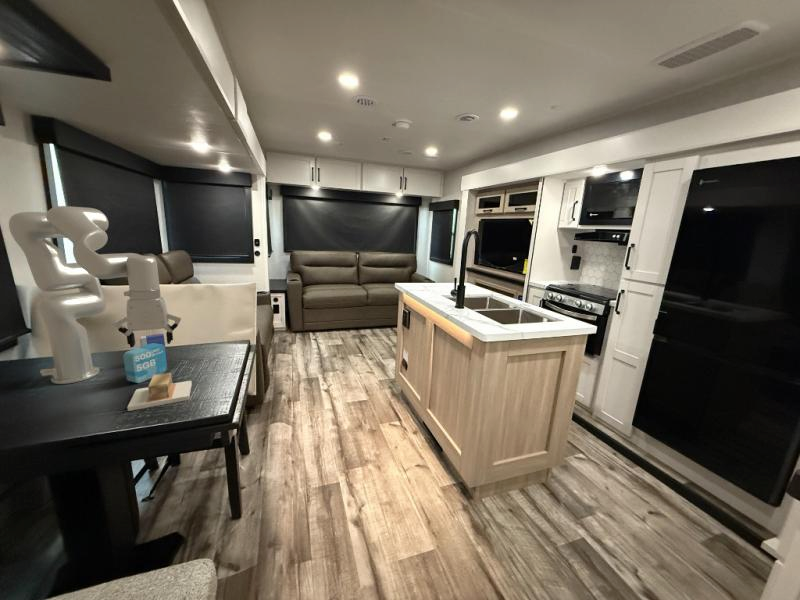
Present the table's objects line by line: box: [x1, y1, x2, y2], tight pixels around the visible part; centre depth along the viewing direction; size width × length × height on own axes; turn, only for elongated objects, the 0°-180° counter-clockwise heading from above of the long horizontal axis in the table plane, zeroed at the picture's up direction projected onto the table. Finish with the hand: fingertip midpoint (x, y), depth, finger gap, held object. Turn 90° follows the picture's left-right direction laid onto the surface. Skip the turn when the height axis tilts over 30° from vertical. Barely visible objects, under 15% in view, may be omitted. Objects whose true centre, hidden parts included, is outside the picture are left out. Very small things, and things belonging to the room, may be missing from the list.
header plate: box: [126, 380, 193, 412], centre depth 106 cm, size 16×12×2 cm
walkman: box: [139, 332, 168, 361], centre depth 130 cm, size 8×3×12 cm, turn 132°
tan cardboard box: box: [147, 372, 173, 401], centre depth 105 cm, size 5×9×5 cm, turn 30°
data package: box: [122, 343, 168, 384], centre depth 117 cm, size 12×4×12 cm, turn 165°
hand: (151, 344), depth 102 cm, fingers open, 9 cm apart
